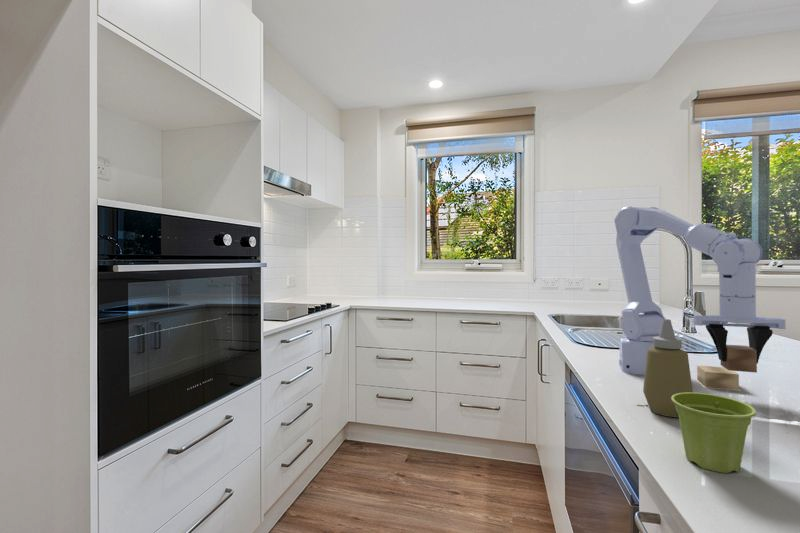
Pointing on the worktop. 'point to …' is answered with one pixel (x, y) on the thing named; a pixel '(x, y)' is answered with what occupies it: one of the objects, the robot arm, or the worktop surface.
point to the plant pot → (713, 429)
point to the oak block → (717, 377)
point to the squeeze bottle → (666, 372)
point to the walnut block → (740, 358)
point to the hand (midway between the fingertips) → (737, 361)
